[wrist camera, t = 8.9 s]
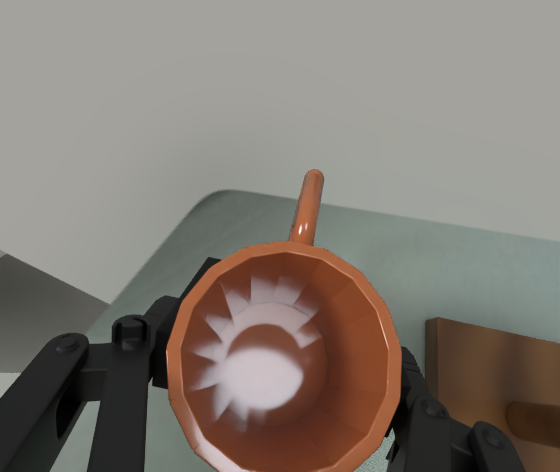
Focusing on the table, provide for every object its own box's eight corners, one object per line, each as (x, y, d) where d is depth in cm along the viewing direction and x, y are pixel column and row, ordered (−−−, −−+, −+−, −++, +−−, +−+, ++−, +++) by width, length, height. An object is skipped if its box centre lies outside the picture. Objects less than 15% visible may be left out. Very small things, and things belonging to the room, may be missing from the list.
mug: (323, 447, 18) (396, 522, 9) (188, 417, 18) (127, 463, 9) (347, 245, 24) (409, 164, 14) (243, 222, 24) (238, 127, 14)
